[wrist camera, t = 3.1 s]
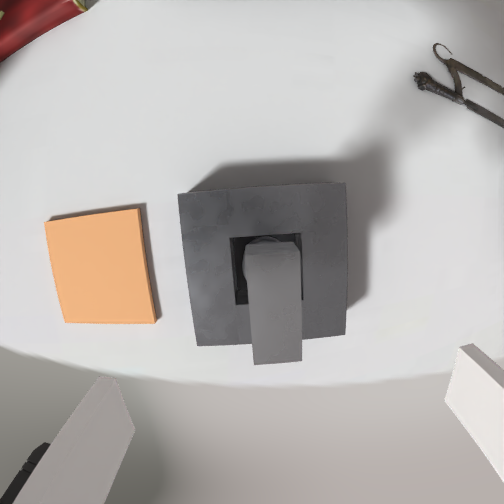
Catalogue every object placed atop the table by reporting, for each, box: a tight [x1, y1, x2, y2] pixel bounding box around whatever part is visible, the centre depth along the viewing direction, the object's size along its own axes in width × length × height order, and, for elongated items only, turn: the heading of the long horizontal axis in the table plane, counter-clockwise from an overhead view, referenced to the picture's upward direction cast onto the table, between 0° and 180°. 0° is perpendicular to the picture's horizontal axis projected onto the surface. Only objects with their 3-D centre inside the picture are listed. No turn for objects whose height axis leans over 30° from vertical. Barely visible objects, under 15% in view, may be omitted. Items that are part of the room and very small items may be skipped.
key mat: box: [44, 208, 157, 324], centre depth 30 cm, size 12×12×1 cm
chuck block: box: [178, 183, 347, 346], centre depth 28 cm, size 14×14×4 cm
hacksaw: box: [413, 43, 504, 128], centre depth 25 cm, size 24×10×2 cm, turn 82°
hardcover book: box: [0, 0, 87, 63], centre depth 21 cm, size 12×21×4 cm, turn 101°
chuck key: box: [242, 236, 302, 365], centre depth 24 cm, size 7×4×13 cm, turn 4°
